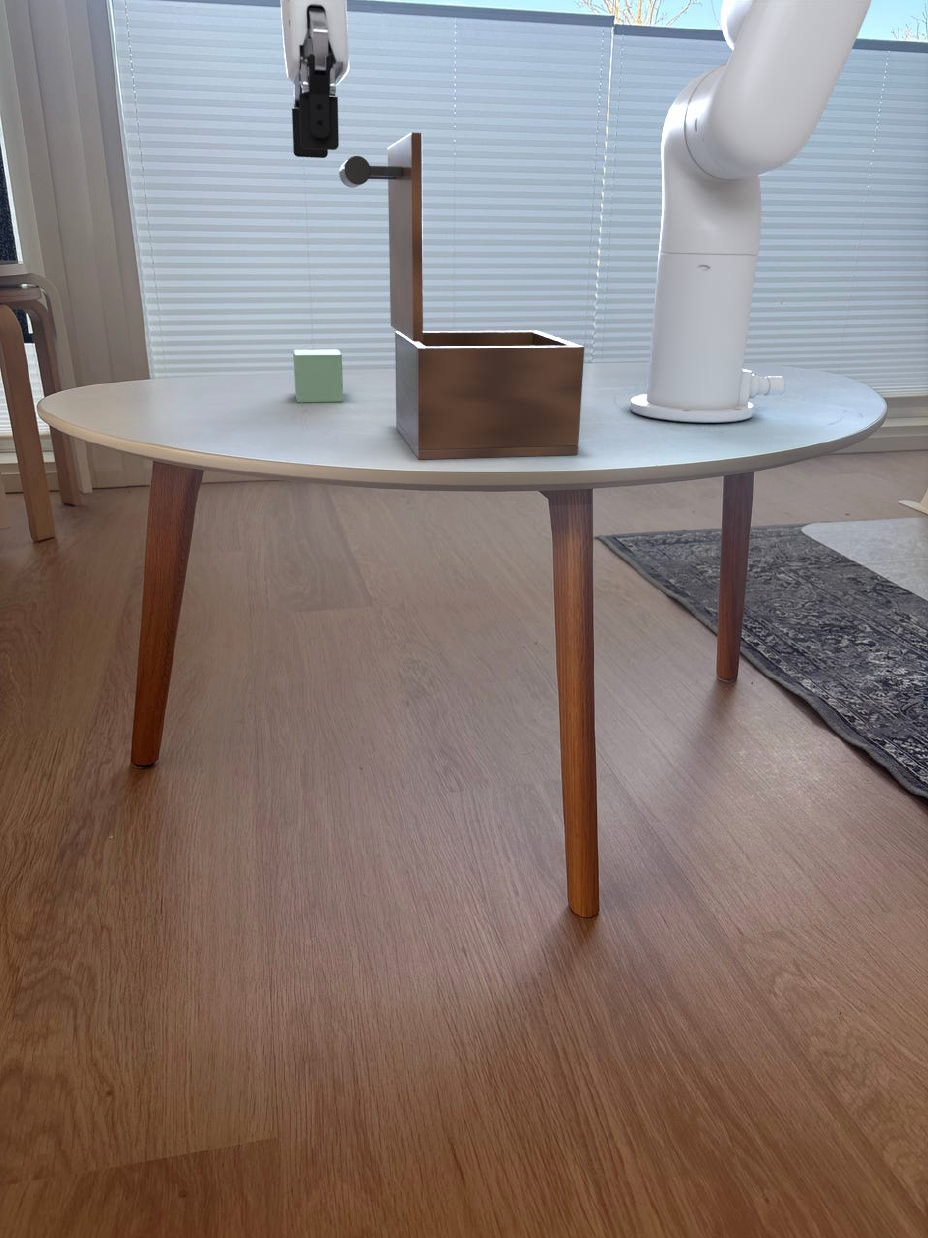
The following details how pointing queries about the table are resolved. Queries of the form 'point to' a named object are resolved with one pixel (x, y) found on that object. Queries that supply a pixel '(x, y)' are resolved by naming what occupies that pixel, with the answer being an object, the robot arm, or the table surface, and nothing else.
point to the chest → (488, 394)
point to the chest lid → (400, 227)
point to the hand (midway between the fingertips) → (315, 152)
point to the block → (318, 375)
